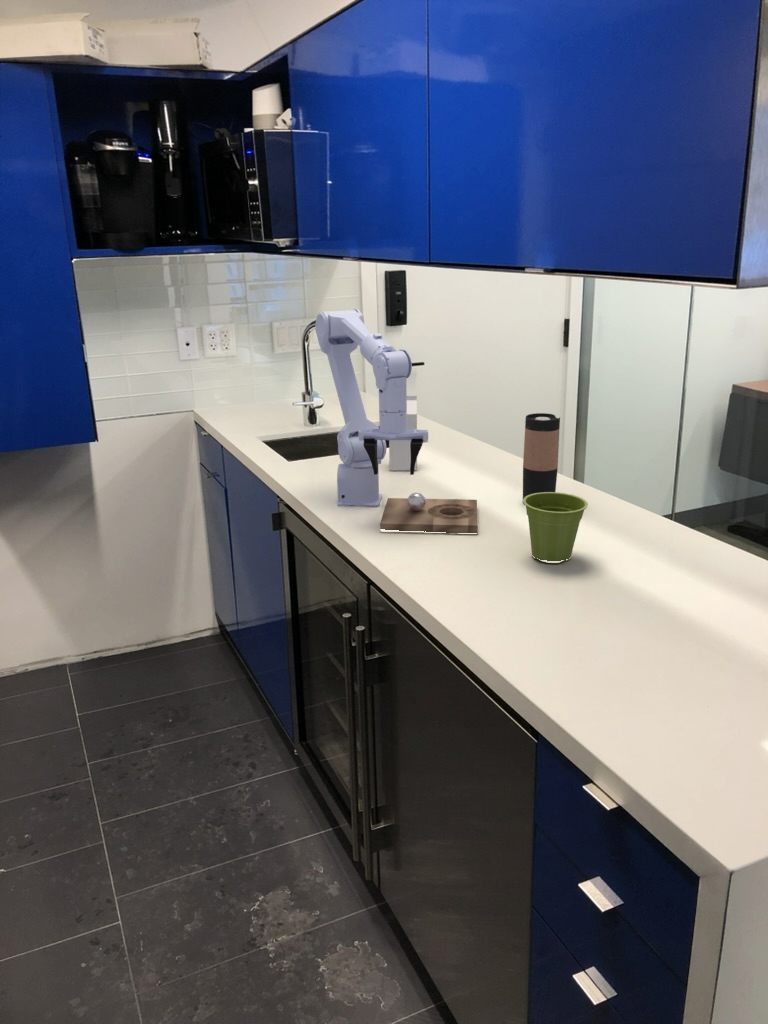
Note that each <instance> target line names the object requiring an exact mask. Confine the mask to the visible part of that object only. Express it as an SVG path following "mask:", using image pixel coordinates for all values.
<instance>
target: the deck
mask: <svg viewBox="0 0 768 1024" xmlns="http://www.w3.org/2000/svg"><path fill="white" fill-rule="evenodd" d="M407 499H408V497H407V498H406V497H405V498H404V497H400V498H399V497H388V498H387V500H386V503H385V506H384V509H383V513H382V516H381V519H380V522H379V530H380V529H385V530H399V531H424V532H425V531H426V532H446V533H477V534H478V525H479V524H478V523H479V522H478V499H463V498H462V499H458V498H456V499H455V498H448V499H447V498H425V500H426V504H425V507H424V508H423V509H422V510H420V511H413V510H411V509H410V508H409V507H408V505H407Z"/></svg>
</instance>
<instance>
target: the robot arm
mask: <svg viewBox="0 0 768 1024" xmlns="http://www.w3.org/2000/svg"><path fill="white" fill-rule="evenodd" d="M314 329H315V333H316V338H317V341H318V345H319V348H320V351H321V352H322V353H324V354H325V355H327V360H328V364H329V367H330V370H331V371H330V372H331V374H332V375H331V376H332V379H333V383H334V386H335V390H336V393H337V397H338V401H339V405H340V409H341V412H342V416H343V421H344V426H343V427H342V428H341V429H340V430H339V432H338V433H337V435H336V437H337V438H336V439H337V445H338V446H337V451H338V453H337V454H338V456H339V459H340V461H341V463H339V464H338V465H337V472H336V473H337V474H336V480H337V481H336V483H337V484H336V485H337V487H336V488H337V505H338V506H349V505H364V506H363V507H378V506H380V504H381V501H382V497H383V494H382V493H380V484H379V483H380V481H379V479H380V478H379V477H380V476H379V465H381V464H382V460H384V459H385V457H386V454H387V442H386V441H389V440H411V443H410V450H411V465H410V470H409V476H410V475H413V476H414V474H415V470H414V468H415V462H416V459H417V460H418V457H419V453H420V451H421V449H422V447H423V445H424V444H423V443H424V442H428V441H429V429H418V428H417V429H407V396H408V395H407V379H408V378H409V377H410V376H411V374H412V369H413V364H412V358H411V356H410V354H409V353H408V351H407V350H406V349H395V347H393V345H392V344H390V343H389V342H388V341H387V340H386V339H385V338H384V337H383V334H381V333H379V332H377V333H372V332H371V331H370V329H369V328H368V326H366V324H365V319H364V314H363V313H362V312H361V311H360V310H359V308H353V309H346V310H330V311H326V310H320V311H319V312H318V314H317V315H316V319H315V328H314ZM358 346H359V352H360V354H361V355H362V357H363V358H364V359H365V360H366V361H367V362H368V363H369V364H370V365H371V367H372V370H373V371H372V372H373V376H374V377H375V386H376V389H378V410H379V411H378V415H379V419H378V420H379V422H378V423H379V425H378V424H376V423H375V422H373V421H371V420H369V419H368V418H367V415H366V411H365V407H364V403H363V400H362V396H361V392H360V388H359V384H358V380H357V377H356V374H355V370H354V367H353V363H352V362H353V361H352V358H351V353H352V352H354V351H355V350H357V349H358ZM366 505H368V506H366Z"/></svg>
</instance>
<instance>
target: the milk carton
mask: <svg viewBox="0 0 768 1024" xmlns="http://www.w3.org/2000/svg"><path fill="white" fill-rule="evenodd" d="M406 396H407V429H417V430H418V409H417V408H418V405H417V404H418V403H417V401H418V399H417V397H418V395H406ZM388 443H389V444H388V449H389V450H388V456H389V457H388V458H389V459H388V460H389V461H388V463H389V466H388V467H389V469H388V470H389V472H390V471H392V472H393V471H394V472H395V471H410V465H411V450H410V443H411V440H388ZM417 470H418V458H417V459H416V462H415V468H414V471H417Z"/></svg>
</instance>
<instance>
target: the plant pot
mask: <svg viewBox="0 0 768 1024" xmlns="http://www.w3.org/2000/svg"><path fill="white" fill-rule="evenodd" d="M522 503H524V504H525V505H524V506H525V511H526V515H527V518H528V527H529V538H530V539H529V540H530V548H531V549H530V550H531V556H532V555H533V556H534V557H535V558H538V559H540V560H547V561H561V560H566V559H569V558H570V557H572V553H573V549H574V545H575V541H576V538H577V534H578V531H579V528H580V527H579V526H580V522H581V520H582V519H583V515H584V512H585V510H586V509H587V508H588V505H589V503H588V501H587V500H585V499H584V498H583V497H580V496H577V495H574V494H572V493H570V494H569V493H565V492H541V493H534V494H530V495H528V496H526V497H525V498H524V499H523V498H522ZM533 556H532V557H533ZM538 559H537V560H538ZM570 559H571V558H570Z"/></svg>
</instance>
